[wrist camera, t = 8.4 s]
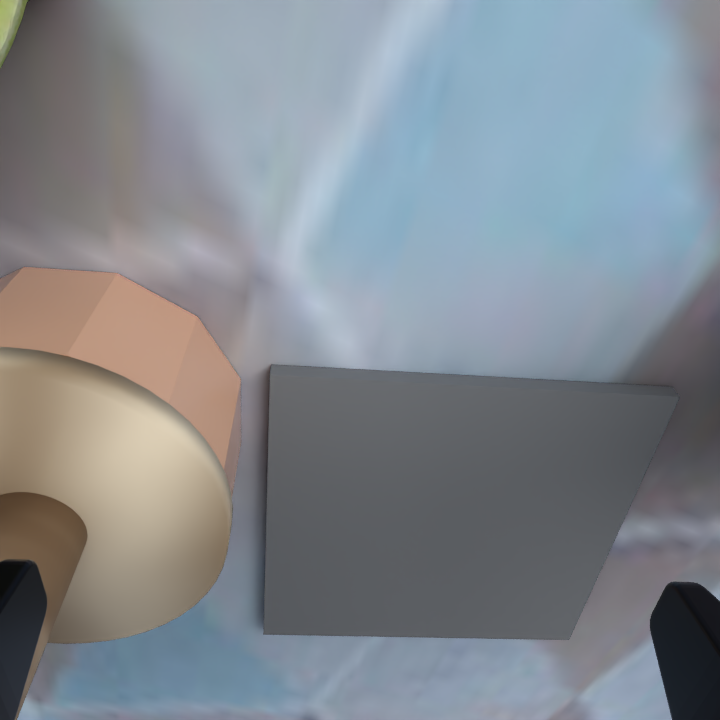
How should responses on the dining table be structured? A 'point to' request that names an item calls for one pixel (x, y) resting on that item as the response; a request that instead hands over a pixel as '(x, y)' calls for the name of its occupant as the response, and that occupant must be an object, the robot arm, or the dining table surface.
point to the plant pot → (9, 24)
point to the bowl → (128, 344)
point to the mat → (446, 499)
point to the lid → (105, 499)
